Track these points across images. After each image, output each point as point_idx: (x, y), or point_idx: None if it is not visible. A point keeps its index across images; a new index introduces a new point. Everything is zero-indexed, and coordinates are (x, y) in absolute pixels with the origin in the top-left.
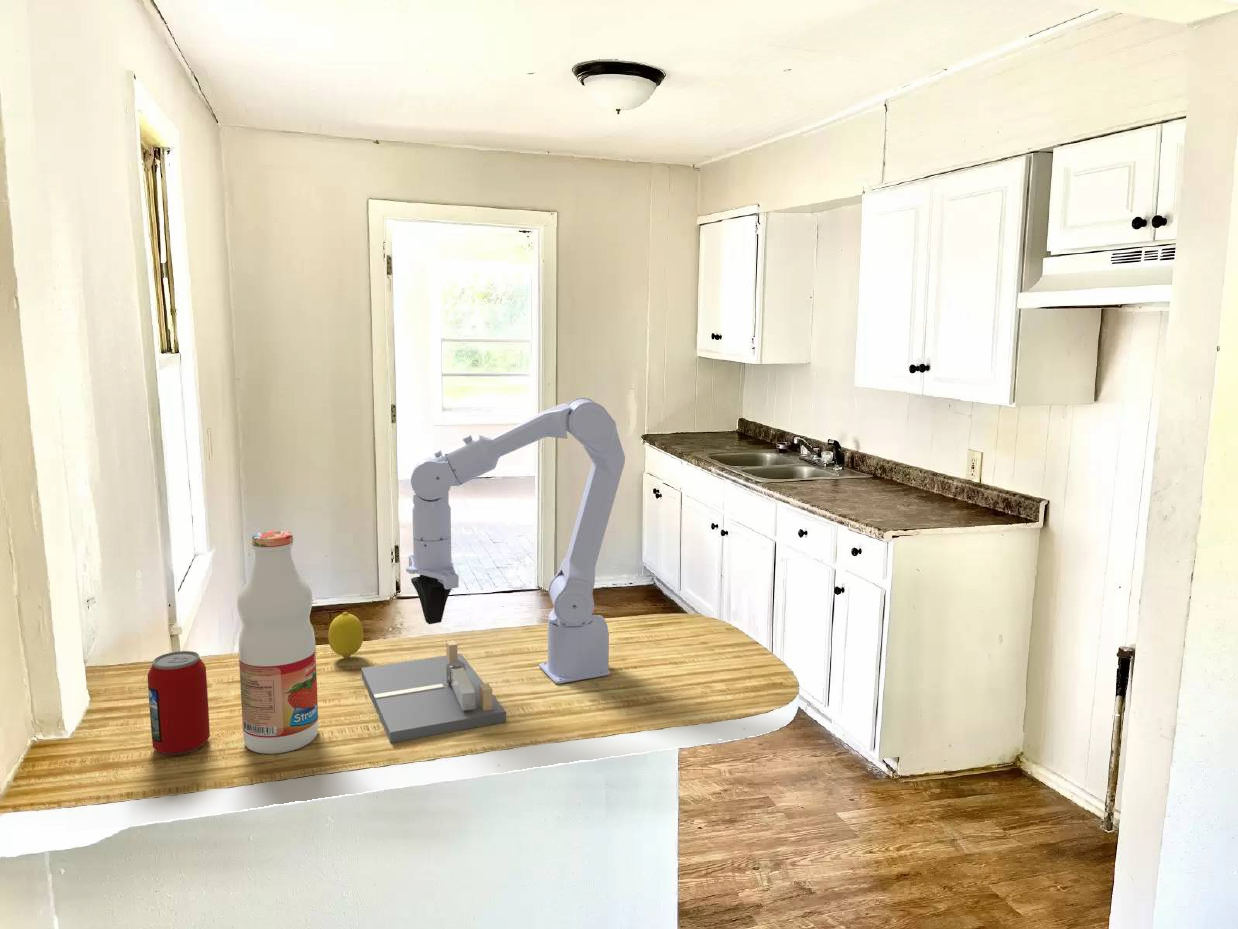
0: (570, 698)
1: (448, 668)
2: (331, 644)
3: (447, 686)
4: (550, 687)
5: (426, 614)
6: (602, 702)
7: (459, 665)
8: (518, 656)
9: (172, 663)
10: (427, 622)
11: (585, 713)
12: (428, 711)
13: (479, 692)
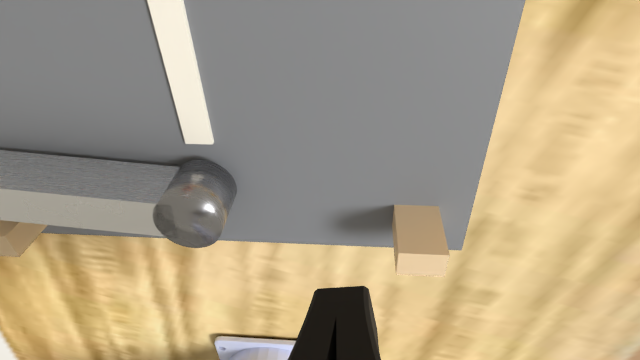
0: (146, 330)
1: (165, 198)
2: None
3: (197, 154)
4: (208, 323)
5: (306, 339)
6: (122, 355)
7: (182, 232)
8: (413, 332)
9: None
10: (334, 292)
11: (74, 326)
12: None
13: None
